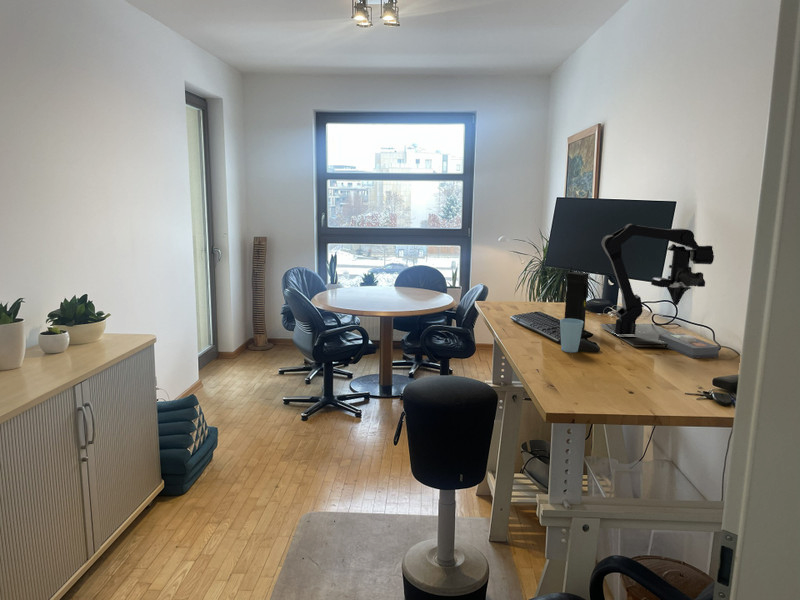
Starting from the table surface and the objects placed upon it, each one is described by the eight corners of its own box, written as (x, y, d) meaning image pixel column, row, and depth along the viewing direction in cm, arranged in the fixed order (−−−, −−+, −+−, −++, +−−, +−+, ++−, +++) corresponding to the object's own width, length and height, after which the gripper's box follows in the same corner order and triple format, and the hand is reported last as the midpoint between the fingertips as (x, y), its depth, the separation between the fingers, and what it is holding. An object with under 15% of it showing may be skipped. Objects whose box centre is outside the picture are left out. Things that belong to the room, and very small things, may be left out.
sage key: (675, 344, 205) (676, 337, 204) (669, 341, 208) (670, 335, 208) (684, 344, 205) (685, 337, 205) (678, 341, 209) (678, 334, 208)
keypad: (692, 358, 192) (693, 348, 191) (658, 343, 209) (659, 334, 209) (718, 357, 194) (719, 347, 193) (682, 343, 211) (683, 333, 211)
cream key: (686, 344, 199) (687, 337, 199) (679, 342, 203) (680, 335, 202) (695, 344, 200) (696, 337, 199) (688, 341, 203) (689, 334, 203)
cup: (564, 354, 193) (567, 323, 192) (553, 347, 201) (556, 318, 199) (585, 353, 195) (587, 323, 193) (573, 347, 203) (575, 318, 201)
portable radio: (587, 330, 228) (593, 267, 223) (580, 332, 224) (586, 268, 219) (569, 326, 233) (574, 265, 228) (562, 328, 229) (567, 266, 224)
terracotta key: (697, 353, 194) (698, 345, 194) (690, 350, 198) (690, 343, 197) (706, 352, 195) (707, 345, 194) (699, 349, 198) (700, 342, 198)
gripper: (672, 266, 202) (667, 310, 205) (718, 266, 206) (713, 309, 209) (652, 262, 213) (648, 303, 216) (696, 262, 216) (692, 302, 219)
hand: (675, 305), depth 215 cm, fingers closed
